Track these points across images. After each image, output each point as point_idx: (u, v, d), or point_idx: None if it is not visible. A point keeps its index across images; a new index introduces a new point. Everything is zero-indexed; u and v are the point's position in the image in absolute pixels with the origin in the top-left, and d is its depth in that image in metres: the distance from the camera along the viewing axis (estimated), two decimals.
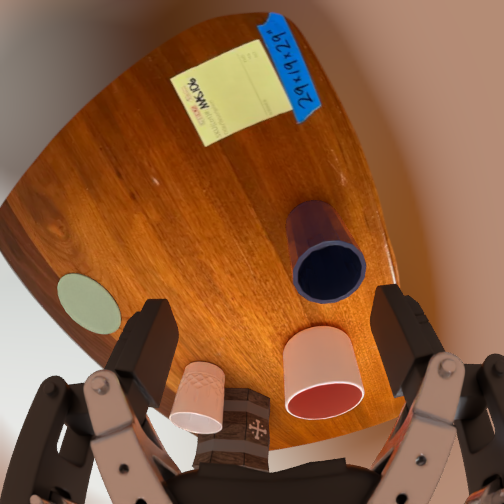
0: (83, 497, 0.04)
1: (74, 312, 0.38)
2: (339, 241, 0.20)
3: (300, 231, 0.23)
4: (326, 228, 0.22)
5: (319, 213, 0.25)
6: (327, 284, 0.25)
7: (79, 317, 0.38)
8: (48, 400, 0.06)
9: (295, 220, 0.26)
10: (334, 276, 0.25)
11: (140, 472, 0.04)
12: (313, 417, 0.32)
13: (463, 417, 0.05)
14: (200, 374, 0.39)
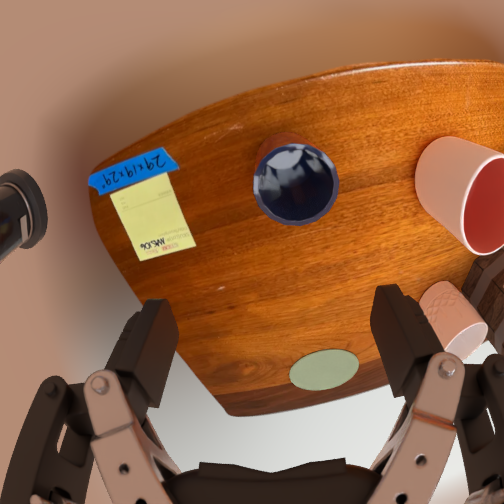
0: (83, 497, 0.04)
1: (327, 383, 0.45)
2: (255, 175, 0.18)
3: None
4: None
5: None
6: (327, 177, 0.20)
7: (333, 381, 0.44)
8: (48, 400, 0.06)
9: None
10: (323, 164, 0.21)
11: (140, 472, 0.04)
12: None
13: (463, 417, 0.05)
14: (428, 308, 0.32)
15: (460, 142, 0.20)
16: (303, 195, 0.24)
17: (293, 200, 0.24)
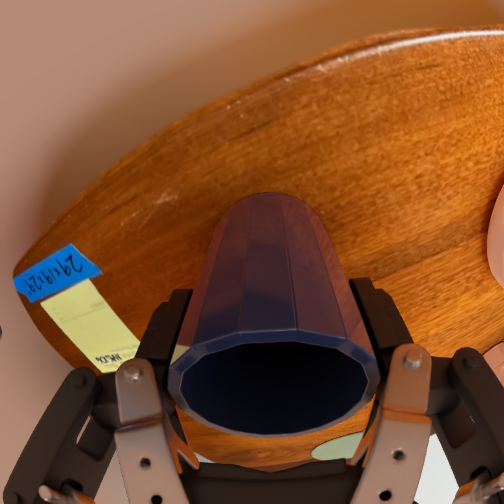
0: (95, 489, 0.05)
1: None
2: (169, 389, 0.07)
3: None
4: None
5: None
6: None
7: None
8: (74, 392, 0.06)
9: None
10: None
11: (162, 468, 0.04)
12: None
13: (438, 413, 0.06)
14: None
15: None
16: None
17: (285, 344, 0.12)
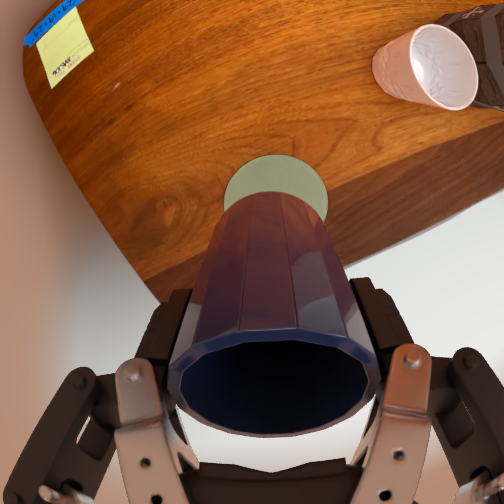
0: (95, 489, 0.05)
1: None
2: (169, 388, 0.07)
3: None
4: None
5: None
6: None
7: None
8: (74, 392, 0.06)
9: None
10: None
11: (162, 468, 0.04)
12: None
13: (438, 413, 0.06)
14: (380, 60, 0.20)
15: None
16: None
17: (285, 344, 0.12)
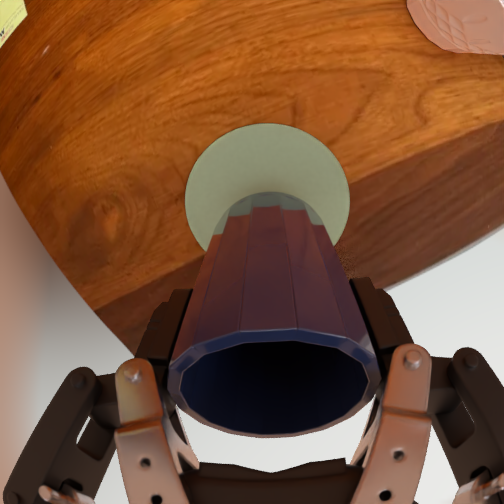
0: (95, 489, 0.05)
1: None
2: (169, 389, 0.07)
3: None
4: None
5: None
6: None
7: None
8: (74, 392, 0.06)
9: None
10: None
11: (162, 468, 0.04)
12: None
13: (438, 413, 0.06)
14: None
15: None
16: None
17: (285, 344, 0.12)
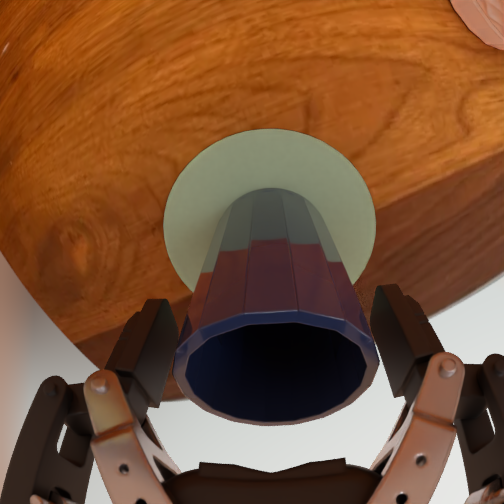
0: (83, 497, 0.04)
1: None
2: (174, 374, 0.07)
3: None
4: None
5: None
6: None
7: None
8: (47, 400, 0.06)
9: None
10: None
11: (140, 472, 0.04)
12: None
13: (463, 417, 0.05)
14: None
15: None
16: None
17: (286, 335, 0.12)
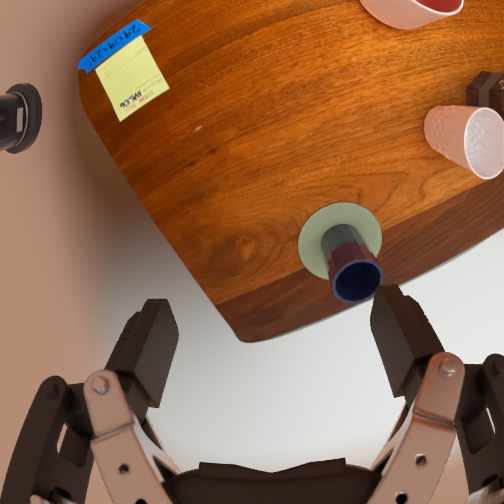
0: (83, 497, 0.04)
1: None
2: (333, 280, 0.29)
3: None
4: (329, 274, 0.31)
5: (324, 259, 0.34)
6: (374, 267, 0.30)
7: None
8: (47, 400, 0.06)
9: None
10: None
11: (140, 472, 0.04)
12: None
13: (463, 417, 0.05)
14: (433, 125, 0.25)
15: None
16: (357, 273, 0.34)
17: (351, 278, 0.34)
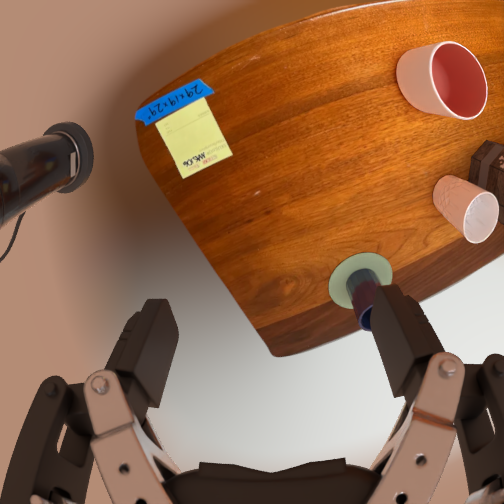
0: (83, 497, 0.04)
1: None
2: (360, 316, 0.38)
3: None
4: (355, 310, 0.40)
5: (350, 297, 0.43)
6: None
7: None
8: (47, 400, 0.06)
9: None
10: None
11: (140, 472, 0.04)
12: (485, 96, 0.20)
13: (463, 417, 0.05)
14: (441, 196, 0.34)
15: None
16: None
17: (369, 310, 0.43)
